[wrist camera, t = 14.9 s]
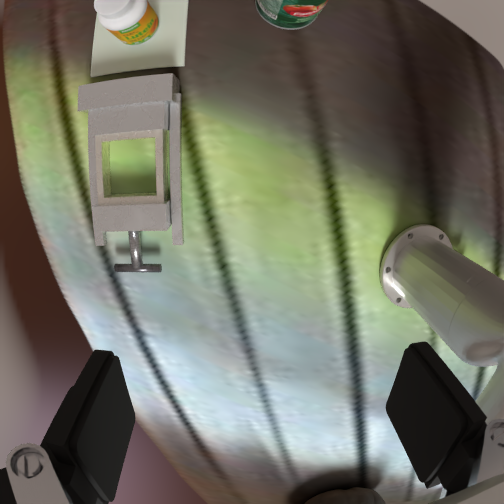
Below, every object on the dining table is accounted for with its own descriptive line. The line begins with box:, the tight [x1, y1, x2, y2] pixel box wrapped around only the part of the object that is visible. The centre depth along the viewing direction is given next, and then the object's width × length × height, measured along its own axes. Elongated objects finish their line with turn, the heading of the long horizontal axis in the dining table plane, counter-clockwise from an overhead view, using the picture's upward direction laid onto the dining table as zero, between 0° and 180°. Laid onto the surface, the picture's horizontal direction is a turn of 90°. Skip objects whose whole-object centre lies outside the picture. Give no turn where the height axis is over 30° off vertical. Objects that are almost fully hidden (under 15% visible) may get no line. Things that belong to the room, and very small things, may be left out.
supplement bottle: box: [94, 0, 159, 46], centre depth 25 cm, size 5×5×10 cm
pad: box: [90, 0, 189, 77], centre depth 30 cm, size 12×12×1 cm
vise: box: [78, 73, 184, 272], centre depth 34 cm, size 12×23×4 cm, turn 179°
